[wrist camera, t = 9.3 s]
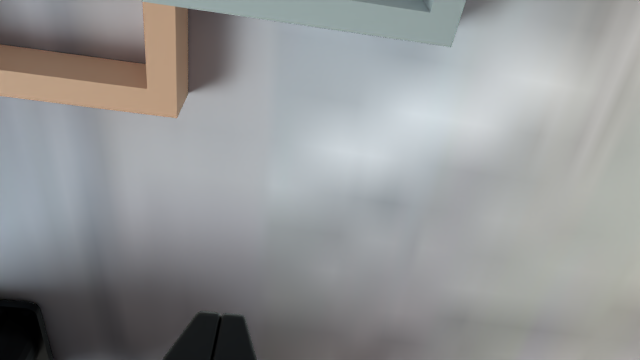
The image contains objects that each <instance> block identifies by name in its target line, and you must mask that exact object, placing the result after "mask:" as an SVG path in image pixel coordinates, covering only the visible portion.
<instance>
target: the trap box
mask: <svg viewBox="0 0 640 360" xmlns="http://www.w3.org/2000/svg"><path fill="white" fill-rule="evenodd" d="M142 1H143V20H144V39H145V57H146V64H141V63H134V62H126V61H119V60H112V59H104V58H97V57H89V56H82V55H75V54H67V53H60V52H53V51H45V50H38V49H30V48H23V47H16V46H8V45H1V44H0V96H5V97H13V98H21V99H29V100H37V101H45V102H52V103H60V104H68V105H76V106H84V107H92V108H100V109H108V110H116V111H124V112H132V113H140V114H148V115H156V116H164V117H172V118H177V117H178V115H179V113H180V110H181V108H182V106H183V104H184V102H185V99H186V97H187V95H188V8H189V9H196V10H202V11H209V12H216V13H223V14H230V15H236V16H243V17H250V18H257V19H263V20H270V21H277V22H284V23H290V24H297V25H304V26H311V27H317V28H324V29H331V30H338V31H345V32H351V33H358V34H365V35H372V36H378V37H385V38H392V39H399V40H405V41H412V42H419V43H426V44H432V45H439V46H446V47H451V46H452V43H453V40H454V37H455V34H456V30H457V27H458V24H459V21H460V18H461V15H462V12H463V8H464V5H465V2H466V0H142Z"/></svg>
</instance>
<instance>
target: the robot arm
mask: <svg viewBox="0 0 640 360" xmlns="http://www.w3.org/2000/svg"><path fill="white" fill-rule="evenodd" d="M0 360H53V356H52V353H51V349H50V345H49V341H48V337H47V334H46V330H45V326H44V322H43V318H42V315H41V311H40V308H39V307H38V306H37V305H36V304H34V303H31V302H22V301H11V300H0ZM163 360H257V359H256V355H255V351H254V348H253V344H252V341H251V337H250V334H249V330H248V326H247V323H246V319H245V317H244V316H243V315H241V314H229V313H225V314H223V315H222V316H221V315H220V313H217V312H207V311H200V312H198V313H197V314H196V315H195V317H194V318H193V319H192V321H191V322H190V323H189V325H188V326H187V327H186V329H185V330H184V331H183V333H182V334H181V335H180V337H179V338H178V339H177V341H176V342H175V343H174V345H173V346H172V347H171V349H170V350H169V352H168V353H167V354H166V356H165V357H164V358H163Z"/></svg>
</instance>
